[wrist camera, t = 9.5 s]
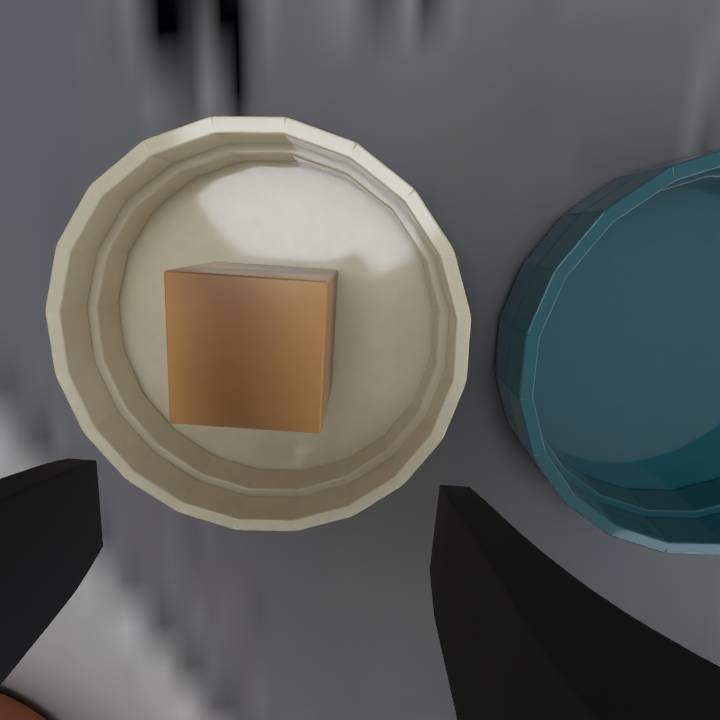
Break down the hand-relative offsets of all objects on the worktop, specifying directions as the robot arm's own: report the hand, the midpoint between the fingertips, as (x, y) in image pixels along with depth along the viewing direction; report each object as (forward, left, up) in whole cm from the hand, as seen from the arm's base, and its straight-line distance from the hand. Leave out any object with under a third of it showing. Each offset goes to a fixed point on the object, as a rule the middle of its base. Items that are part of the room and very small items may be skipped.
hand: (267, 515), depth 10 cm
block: (+2, -2, -8) cm, 9 cm away
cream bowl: (+2, -2, -9) cm, 9 cm away
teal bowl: (-12, -6, -9) cm, 16 cm away
